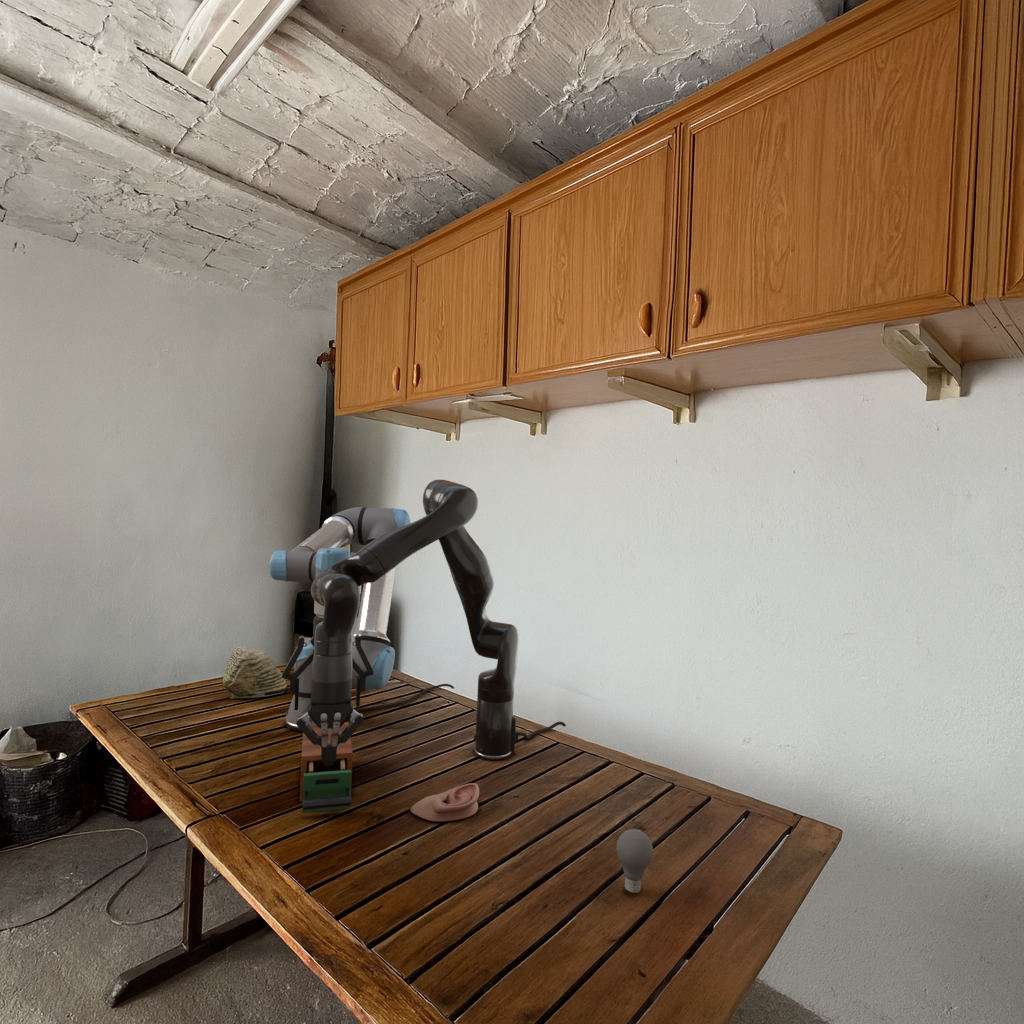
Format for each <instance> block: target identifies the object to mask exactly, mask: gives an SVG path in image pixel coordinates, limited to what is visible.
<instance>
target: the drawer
mask: <svg viewBox="0 0 1024 1024" xmlns="http://www.w3.org/2000/svg"><path fill="white" fill-rule="evenodd" d="M350 789H351V790H352V782H351V770H345V759H344V758H343V759H336V762H333V764H332V766H329V764H328V766H325V763H322V762H321V760H316V761H309V773H304V777H303V802H302V808H301V809H302V810H301V813H302V814H306V813H307V814H308V813H317V812H328V811H329V812H330V811H337V810H339V811H340V810H350V809H351V806H352V795H351V796H350Z"/></svg>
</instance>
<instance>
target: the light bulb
mask: <svg viewBox="0 0 1024 1024" xmlns="http://www.w3.org/2000/svg"><path fill="white" fill-rule="evenodd" d="M615 849H616V854H617V857H618V859H619V861H620V863H621V865H622V867H623V873H624V874H623V875H624V876H625V878H624V888H625V890H627V891H628V892H630V893H634V894H635V893H639V892H640V891H641V889H642V887H641V886H642V879H643V877H644V875H645V871H646V868H647V867H648V866H649V864H650V863H651V861H652V859H653V855H654V847H653V843H652V841H651V838H649V836H648V835H647V834H646V833H645V832H643V831H642V830H641V829H636V828H629V829H627V830H625V831H623V832H622V833H621V834H620V835H619V837H618V839H617V841H616V847H615Z"/></svg>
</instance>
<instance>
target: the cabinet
mask: <svg viewBox="0 0 1024 1024" xmlns="http://www.w3.org/2000/svg"><path fill="white" fill-rule="evenodd" d="M349 723H350V721H346V722H345V723H344V724H343V725H342V726H341V727H340V728H339V735H340V734H341V733H342V732H343V731H344V729H345V728H346V727H347V726H348V724H349ZM310 726H311V727H312V728H313V730H314V731H315V732H316V733H317V734H318V736H321V728H319V727H317V725H316V724H310ZM331 733H332V728H329V729H328V743H330V740H331ZM351 737H352V736H351ZM351 737H350V738H349V739H348V740H347V742H345V743H340V744H338V746H337V756H336V759H343V758H344V759H345V770H351V783H352V779H353V778H352V777H353V754H354V752H353V746H352V745H353V744H352V738H351ZM300 758H301V760H300V761H301V762H300V782H299V783H300V785H299V803H303V777H304V773H309V761H316V760H321V746H320V745H313V744H312V742H311V741H310V740H309V739H308V738H307V737H306V735H305V734H304V733H303V732H302V743H301V757H300ZM350 796H351V797H352V788H351V789H350Z"/></svg>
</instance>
